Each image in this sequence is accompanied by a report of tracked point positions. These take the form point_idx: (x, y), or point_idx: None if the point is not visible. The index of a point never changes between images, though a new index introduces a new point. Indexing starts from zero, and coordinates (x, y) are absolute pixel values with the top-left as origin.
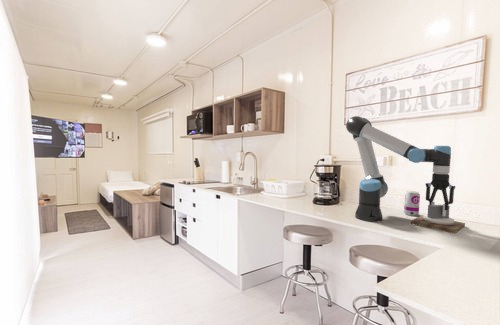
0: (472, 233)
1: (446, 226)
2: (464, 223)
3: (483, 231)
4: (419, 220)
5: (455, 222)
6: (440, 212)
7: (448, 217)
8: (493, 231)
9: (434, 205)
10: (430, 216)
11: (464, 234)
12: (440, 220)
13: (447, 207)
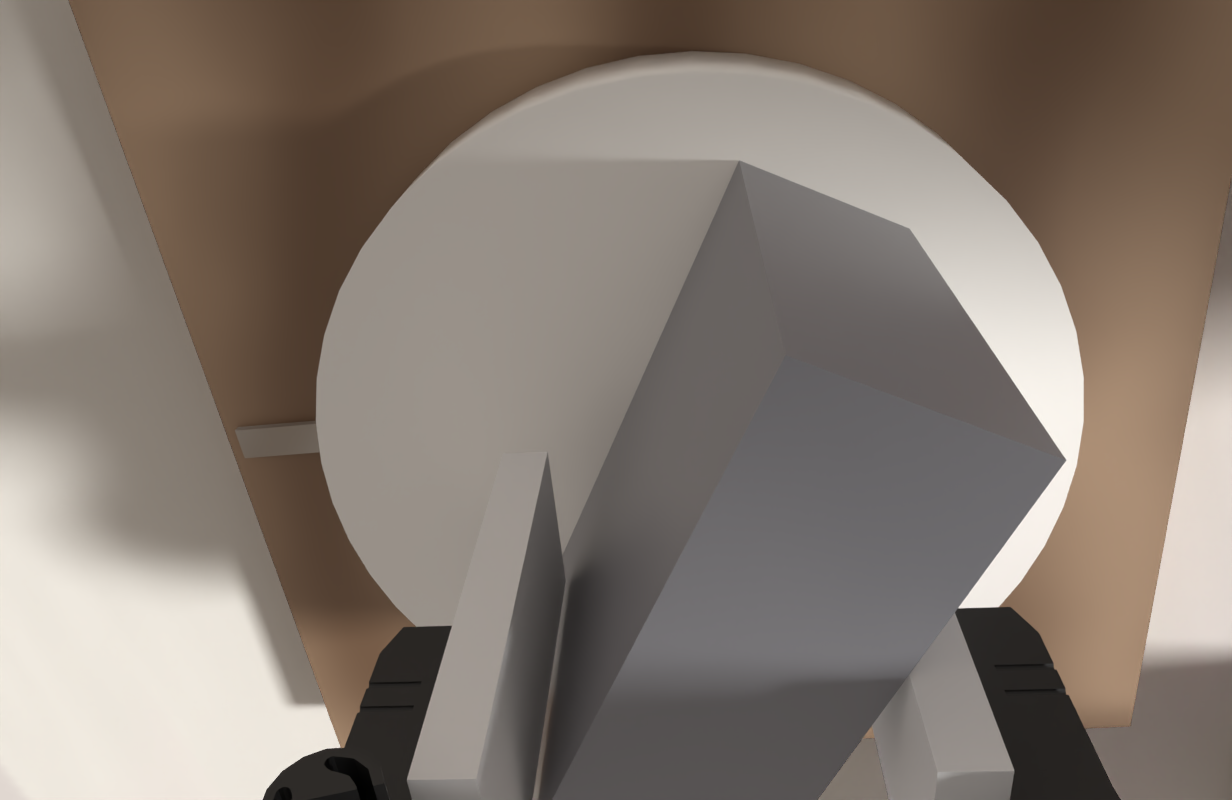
0: (22, 344)
1: (337, 83)
2: (332, 724)
3: (67, 652)
4: (1073, 53)
5: None
6: (610, 537)
7: None
8: (28, 770)
9: (808, 607)
10: (810, 200)
11: (5, 88)
12: (495, 167)
13: (358, 720)
